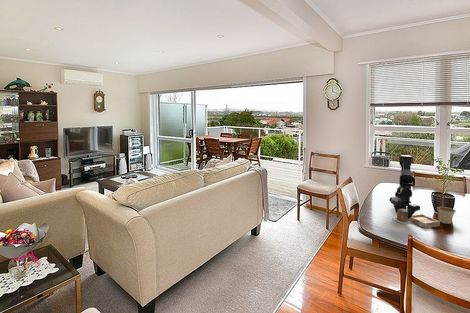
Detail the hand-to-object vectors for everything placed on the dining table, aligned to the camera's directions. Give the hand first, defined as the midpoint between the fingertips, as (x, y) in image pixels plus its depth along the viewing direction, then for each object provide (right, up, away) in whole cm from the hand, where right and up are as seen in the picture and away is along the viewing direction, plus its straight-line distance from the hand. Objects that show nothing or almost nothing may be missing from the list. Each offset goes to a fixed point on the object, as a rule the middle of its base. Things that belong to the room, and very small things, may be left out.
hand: (402, 215), depth 171 cm
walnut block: (0, -3, +1) cm, 3 cm away
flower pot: (+26, -4, -2) cm, 26 cm away
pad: (0, -3, +1) cm, 3 cm away
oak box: (+11, -4, -3) cm, 12 cm away
